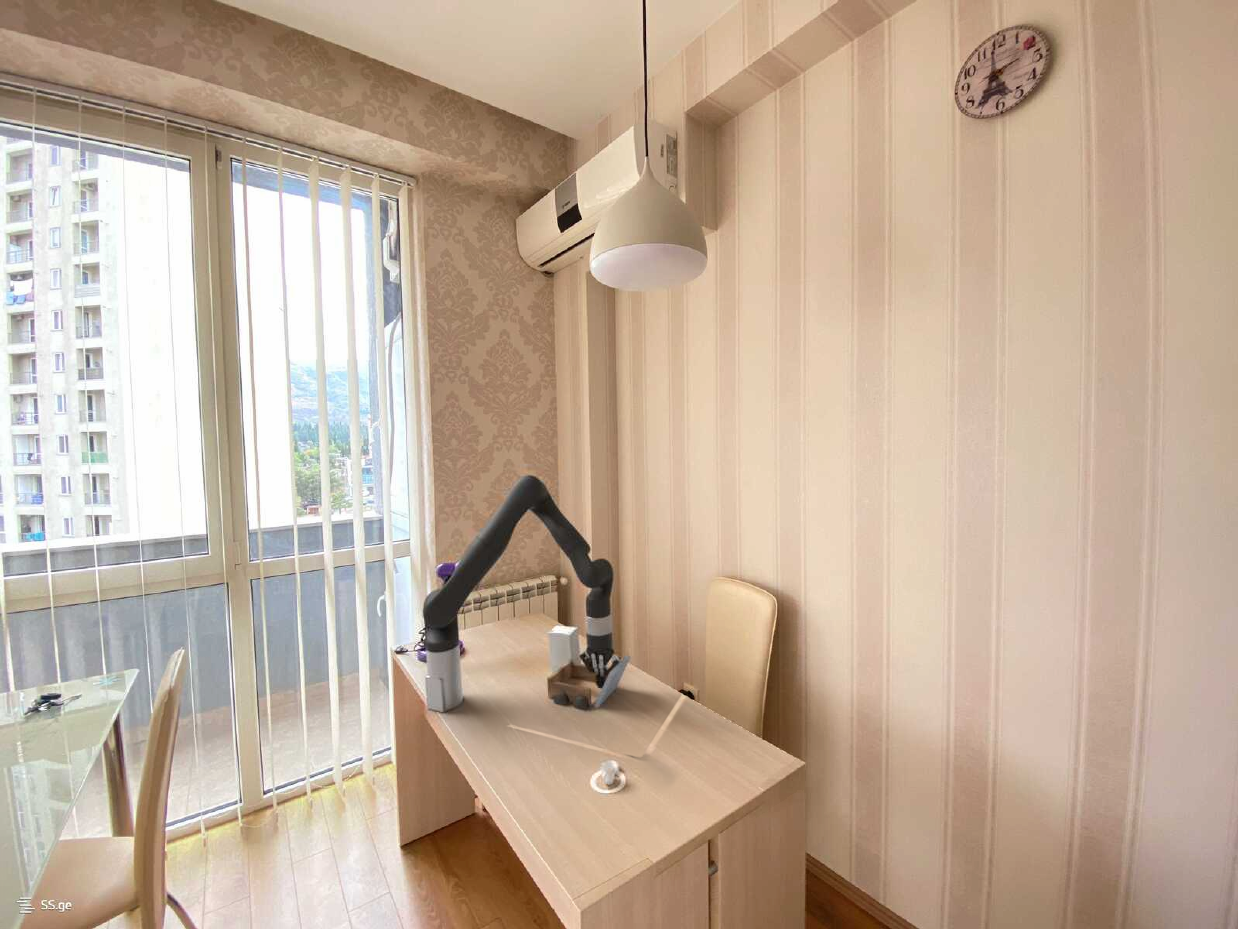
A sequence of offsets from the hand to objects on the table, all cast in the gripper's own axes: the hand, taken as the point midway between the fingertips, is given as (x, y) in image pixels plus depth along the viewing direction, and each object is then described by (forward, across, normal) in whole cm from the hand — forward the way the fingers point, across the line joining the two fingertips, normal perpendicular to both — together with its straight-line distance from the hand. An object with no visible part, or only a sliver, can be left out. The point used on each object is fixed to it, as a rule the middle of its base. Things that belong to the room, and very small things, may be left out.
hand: (601, 687), depth 147 cm
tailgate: (+3, +1, 0) cm, 3 cm away
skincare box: (+4, -18, +10) cm, 21 cm away
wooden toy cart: (+4, -6, 0) cm, 7 cm away
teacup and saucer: (+4, +19, -28) cm, 34 cm away
